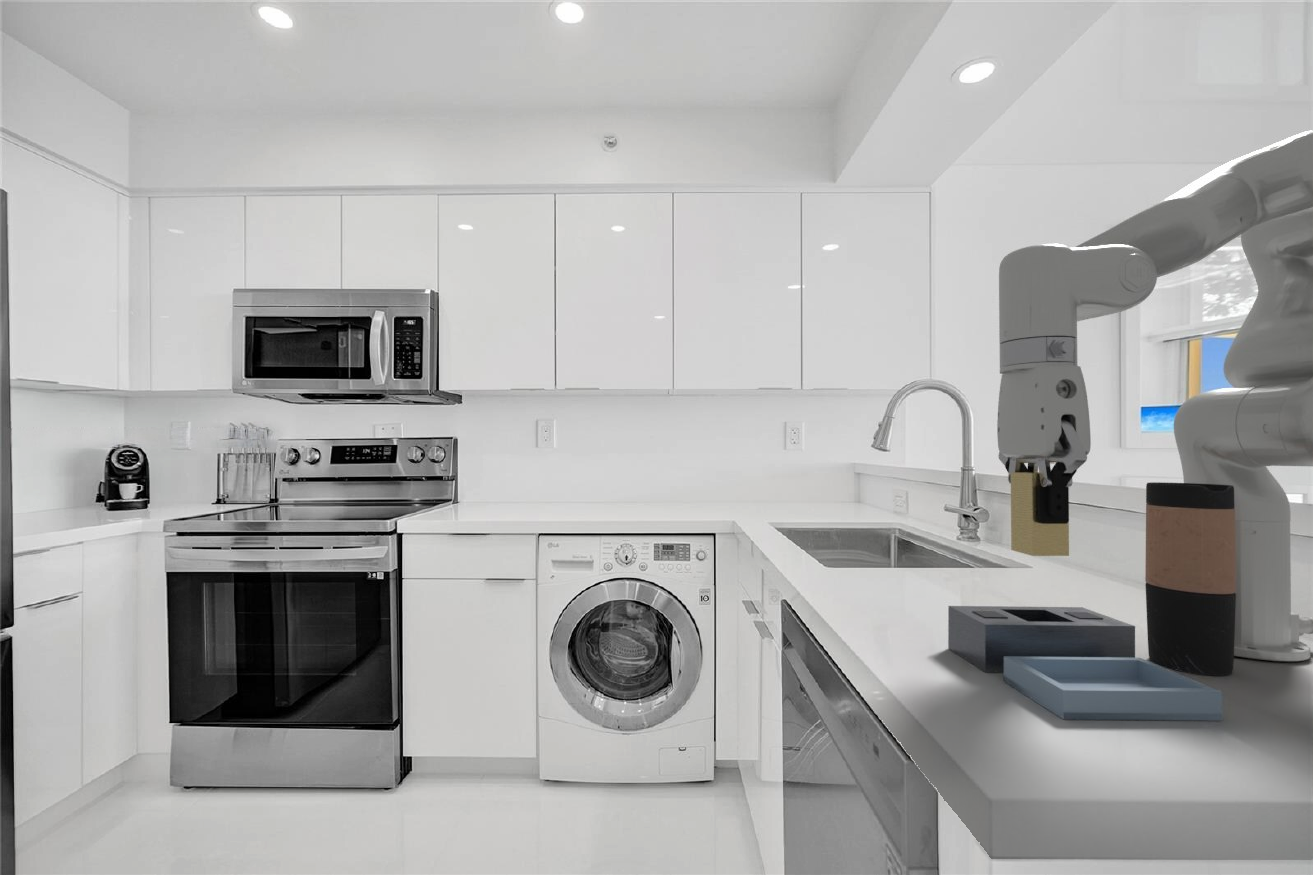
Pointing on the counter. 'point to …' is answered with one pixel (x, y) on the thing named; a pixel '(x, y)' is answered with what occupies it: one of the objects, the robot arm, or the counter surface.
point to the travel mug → (1191, 576)
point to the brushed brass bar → (1033, 521)
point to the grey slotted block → (1034, 634)
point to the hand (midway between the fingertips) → (1039, 519)
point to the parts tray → (1111, 689)
